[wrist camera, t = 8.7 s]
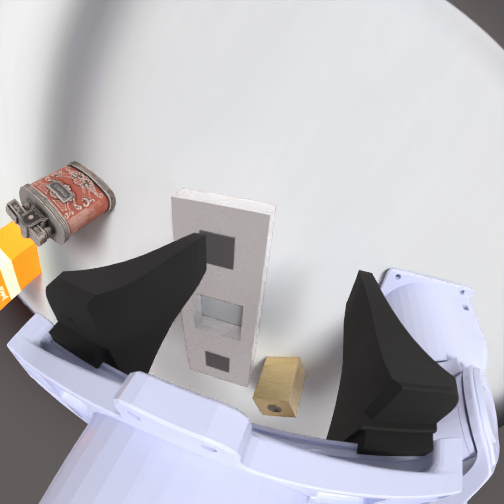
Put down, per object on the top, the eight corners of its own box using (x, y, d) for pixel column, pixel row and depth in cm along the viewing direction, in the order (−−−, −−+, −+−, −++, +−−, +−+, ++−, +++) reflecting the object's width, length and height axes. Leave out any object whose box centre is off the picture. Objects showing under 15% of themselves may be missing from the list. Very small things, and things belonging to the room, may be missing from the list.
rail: (276, 204, 21) (270, 215, 19) (251, 375, 34) (246, 387, 33) (183, 188, 23) (170, 197, 21) (196, 357, 36) (189, 369, 34)
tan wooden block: (299, 356, 30) (288, 401, 25) (305, 376, 32) (295, 417, 27) (266, 356, 31) (252, 398, 26) (275, 375, 33) (262, 415, 28)
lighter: (119, 192, 25) (43, 241, 17) (112, 216, 27) (44, 267, 19) (72, 154, 24) (-1, 190, 16) (67, 178, 26) (1, 216, 18)
